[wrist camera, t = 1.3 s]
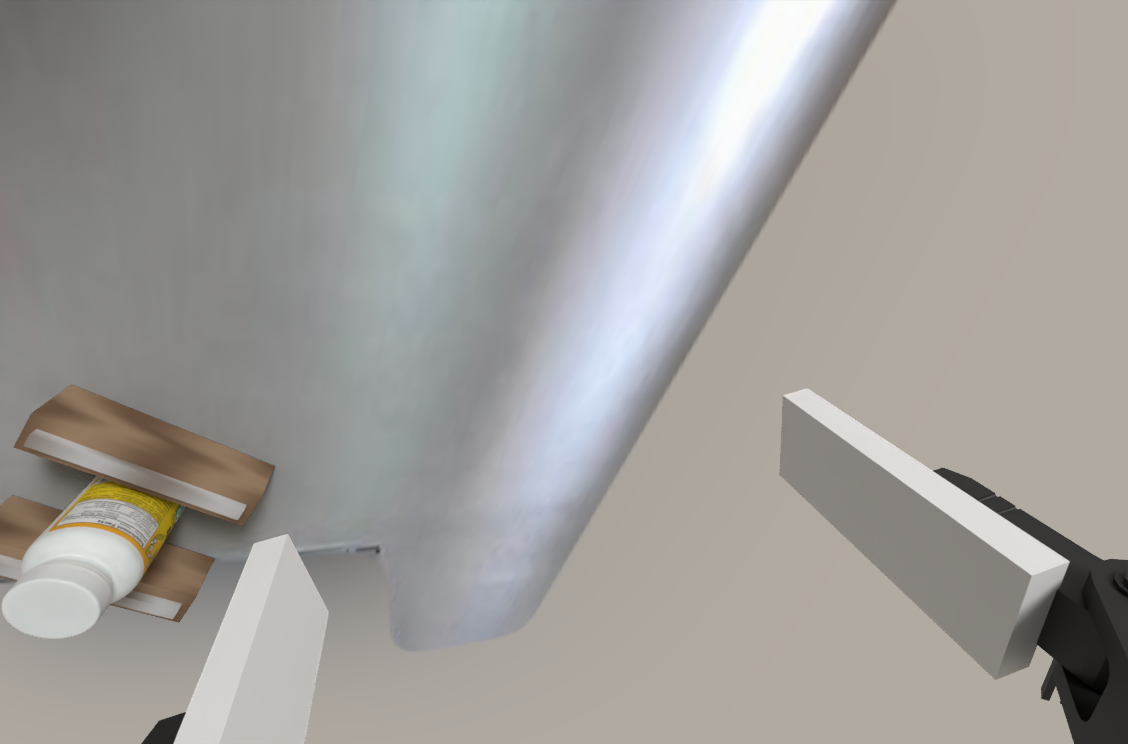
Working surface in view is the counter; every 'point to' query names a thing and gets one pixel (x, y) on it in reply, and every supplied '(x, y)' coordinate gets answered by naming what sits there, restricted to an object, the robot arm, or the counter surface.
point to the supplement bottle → (88, 559)
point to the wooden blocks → (134, 486)
